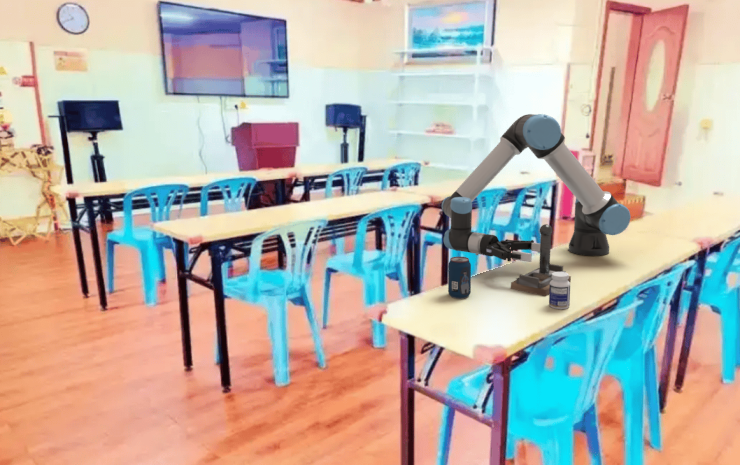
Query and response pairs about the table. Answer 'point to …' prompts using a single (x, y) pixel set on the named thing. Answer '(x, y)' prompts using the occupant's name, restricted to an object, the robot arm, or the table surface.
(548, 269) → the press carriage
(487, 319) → the table surface
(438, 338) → the table surface
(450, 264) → the soda can
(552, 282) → the pill bottle
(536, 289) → the press base
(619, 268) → the table surface
